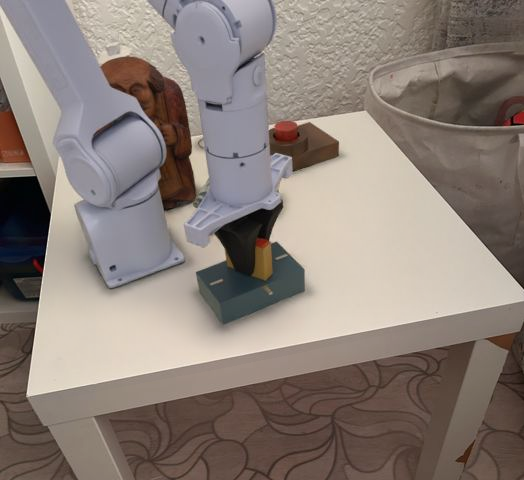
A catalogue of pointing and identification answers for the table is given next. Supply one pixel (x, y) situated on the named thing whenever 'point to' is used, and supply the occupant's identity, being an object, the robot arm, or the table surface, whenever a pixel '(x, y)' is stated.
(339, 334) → the table surface
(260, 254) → the tap handle
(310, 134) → the button block
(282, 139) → the button
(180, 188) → the wooden figurine
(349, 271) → the table surface
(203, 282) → the plate
